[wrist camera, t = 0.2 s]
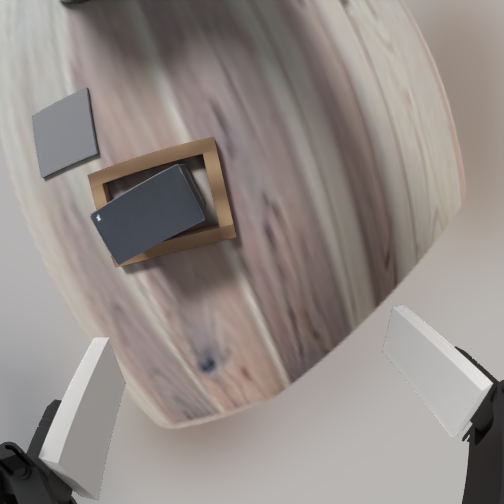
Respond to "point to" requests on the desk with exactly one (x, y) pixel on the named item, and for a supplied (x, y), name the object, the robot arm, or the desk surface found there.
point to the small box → (150, 213)
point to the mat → (64, 133)
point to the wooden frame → (163, 157)
